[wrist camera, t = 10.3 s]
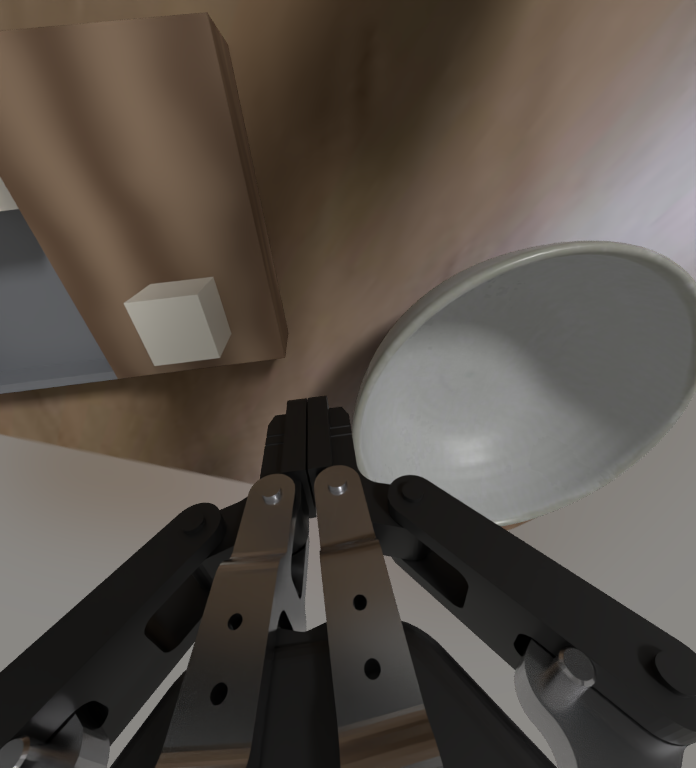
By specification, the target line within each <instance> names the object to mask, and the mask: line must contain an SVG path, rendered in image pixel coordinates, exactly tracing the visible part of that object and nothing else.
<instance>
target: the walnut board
mask: <svg viewBox="0 0 696 768" xmlns="http://www.w3.org/2000/svg"><path fill="white" fill-rule="evenodd" d="M0 177H1V179H2V181H3V182H4V184H5V186H6V188H7V189H8V191H9V193H10V194H11V196H12V198H13V200H14V201H15V203H16V205H17V206H18V208H19V210H20V212H21V213H22V215H23V217H24V218H25V220H26V222H27V224H28V225H29V227H30V229H31V231H32V232H33V234H34V236H35V237H36V239H37V241H38V243H39V244H40V246H41V248H42V249H43V251H44V253H45V255H46V256H47V258H48V260H49V261H50V263H51V265H52V267H53V268H54V270H55V272H56V273H57V275H58V277H59V279H60V280H61V282H62V284H63V285H64V287H65V289H66V291H67V292H68V294H69V296H70V297H71V299H72V301H73V303H74V304H75V306H76V308H77V309H78V311H79V313H80V315H81V316H82V318H83V320H84V321H85V323H86V325H87V327H88V328H89V330H90V332H91V333H92V335H93V337H94V339H95V340H96V342H97V344H98V345H99V347H100V349H101V351H102V352H103V354H104V356H105V358H106V359H107V361H108V363H109V364H110V366H111V368H112V370H113V371H114V373H115V375H116V376H117V378H118V379H121V378H129V377H137V376H145V375H153V374H161V373H169V372H177V371H185V370H193V369H200V368H208V367H216V366H224V365H232V364H240V363H248V362H256V361H264V360H272V359H280V358H285V355H286V347H287V340H288V329H287V324H286V320H285V315H284V310H283V305H282V301H281V296H280V291H279V286H278V282H277V277H276V272H275V267H274V262H273V258H272V253H271V248H270V243H269V239H268V234H267V229H266V224H265V220H264V215H263V210H262V205H261V200H260V196H259V191H258V186H257V181H256V177H255V172H254V167H253V162H252V158H251V153H250V148H249V143H248V138H247V134H246V129H245V124H244V119H243V115H242V110H241V105H240V100H239V96H238V91H237V86H236V81H235V76H234V72H233V67H232V62H231V57H230V53H229V48H228V44H227V42H226V41H225V39H224V38H223V36H222V35H221V33H220V32H219V30H218V29H217V27H216V26H215V24H214V22H213V21H212V19H211V18H210V16H209V15H208V13H207V12H205V13H194V14H183V15H172V16H161V17H149V18H138V19H127V20H116V21H105V22H94V23H82V24H71V25H60V26H49V27H38V28H27V29H16V30H4V31H0ZM207 277H214V280H215V283H216V287H217V290H218V293H219V296H220V299H221V302H222V305H223V309H224V312H225V315H226V318H227V321H228V324H229V328H230V331H231V336H230V338H229V340H228V342H227V344H226V346H225V348H224V350H223V353H222V355H221V357H220V358H215V359H207V360H199V361H191V362H183V363H175V364H167V365H159V366H154V364H153V362H152V360H151V358H150V356H149V354H148V352H147V350H146V348H145V346H144V344H143V342H142V340H141V338H140V336H139V334H138V332H137V330H136V328H135V326H134V324H133V322H132V319H131V317H130V315H129V313H128V311H127V309H126V307H125V305H124V303H125V302H126V301H127V300H129V299H130V298H132V297H133V296H134V295H136V294H137V293H139V292H140V291H141V290H143V289H144V288H146V287H147V286H148V285H150V284H156V283H164V282H173V281H182V280H190V279H199V278H207Z"/></svg>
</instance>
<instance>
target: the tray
mask: <svg viewBox="0 0 696 768" xmlns="http://www.w3.org/2000/svg"><path fill="white" fill-rule="evenodd" d="M114 379H118V378H117V376H116V375H115V373H114V371H113V370H112V368H111V366H110V364H109V363H108V361H107V359H106V358H105V356H104V354H103V352H102V351H101V349H100V347H99V345H98V344H97V342H96V340H95V339H94V337H93V335H92V333H91V332H90V330H89V328H88V327H87V325H86V323H85V321H84V320H83V318H82V316H81V315H80V313H79V311H78V309H77V308H76V306H75V304H74V303H73V301H72V299H71V297H70V296H69V294H68V292H67V291H66V289H65V287H64V285H63V284H62V282H61V280H60V279H59V277H58V275H57V273H56V272H55V270H54V268H53V267H52V265H51V263H50V261H49V260H48V258H47V256H46V255H45V253H44V251H43V249H42V248H41V246H40V244H39V243H38V241H37V239H36V237H35V236H34V234H33V232H32V231H31V229H30V227H29V225H28V224H27V222H26V220H25V218H24V217H23V215H22V213H21V212H20V210H19V209H16V210H9V211H2V212H0V394H2V393H10V392H18V391H26V390H34V389H42V388H50V387H58V386H66V385H74V384H82V383H90V382H98V381H106V380H114ZM121 379H122V378H121Z"/></svg>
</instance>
